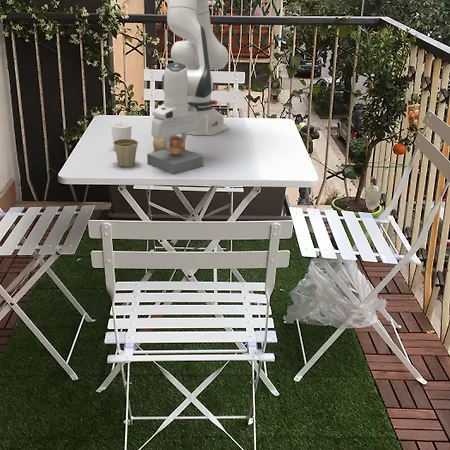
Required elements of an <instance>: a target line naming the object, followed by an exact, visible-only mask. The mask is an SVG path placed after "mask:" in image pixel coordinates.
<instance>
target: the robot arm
mask: <svg viewBox="0 0 450 450" xmlns="http://www.w3.org/2000/svg"><path fill="white" fill-rule="evenodd" d="M209 5H210V4H209V0H167V8H166V20H167V21H166V22H167V26H168V27H169V29H170V31H171V32H172V33H173V34H174V35H176V36H178V37H180V38H181V39H183V40H179V41H176V42H174V43H173V45H172V46H171V50H170V58H171V60H172V61H173V62H172V63H168V64H166V66H165V68H164V69H165V70H164V73H163V75H162V76H161V88H162V90H163V93H164V98H163V103H162V104H160V105H159V106H158V107H157V108H155V109H154V110H152V116H153V117H152V119H151V136H152V137H153V139H154V138H157V139H162V138H164V140H165V142H166V147H167V148H171V147H172V143H170V141H169V139H170V136H178V135H181V136H180V137H181V138H184V139H185V140H186V139H187V137H188V135H193V136H208V137H209V136H214V135H217V134H220V133H222V132H224V131H227V130H230V129H229V128H230V127H229V125H227V124H225V120H224V119H225V118H224V115H222V114H221V113H220V112H219V111H218V110H217V109H215V108H214V106H217V105H218V102H219V101H218V100H215V99H211V98H212V97H211V96H212V92H213V89H214V80H213V79H214V78H213V76H212V72H211V71H214V70H222V69H224V68H225V67H226V65H227V64H228V61H229V52H228V50H227V47H225V46H224V45H223V44H222V43H221V42H220V41H219V40H218V39H217V36H215V34H214V31H213V30H212V29H213V28H212V25H211V18H210V17H211V16H210V7H209Z"/></svg>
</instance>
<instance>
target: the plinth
mask: <svg viewBox="0 0 450 450" xmlns="http://www.w3.org/2000/svg"><path fill="white" fill-rule="evenodd" d="M146 158H147V159H146V160H147V165H149V166H151V165H152V167H154V168H156V167H157V169H160V170H161V169H162V171H163V170H164V171H163V172H166V173H168V172H169V174H170V175H176V174H180V173H183V172H188V171H190V170H191V171H192V170H195V169H197V168H201V167H204V155H201V154H199V153H196V152H194V151H191V150H189V149H186V148H185V152H181V153H178V154H173V153H170V152H168V151H166V149H164V150H160V151H154V152H148V153H147V157H146Z"/></svg>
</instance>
